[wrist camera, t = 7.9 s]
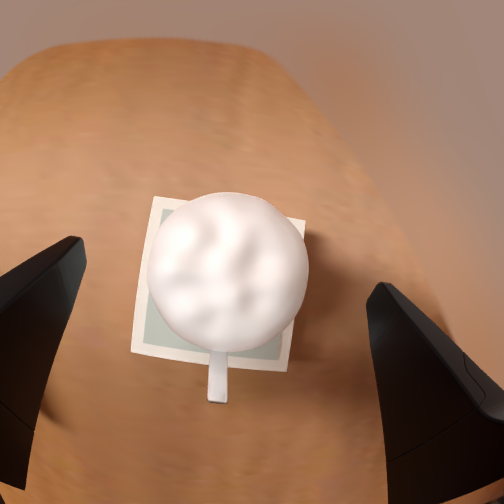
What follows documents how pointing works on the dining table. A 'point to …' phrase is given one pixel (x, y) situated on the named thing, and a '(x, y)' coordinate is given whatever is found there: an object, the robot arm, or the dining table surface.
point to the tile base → (174, 347)
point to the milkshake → (227, 276)
